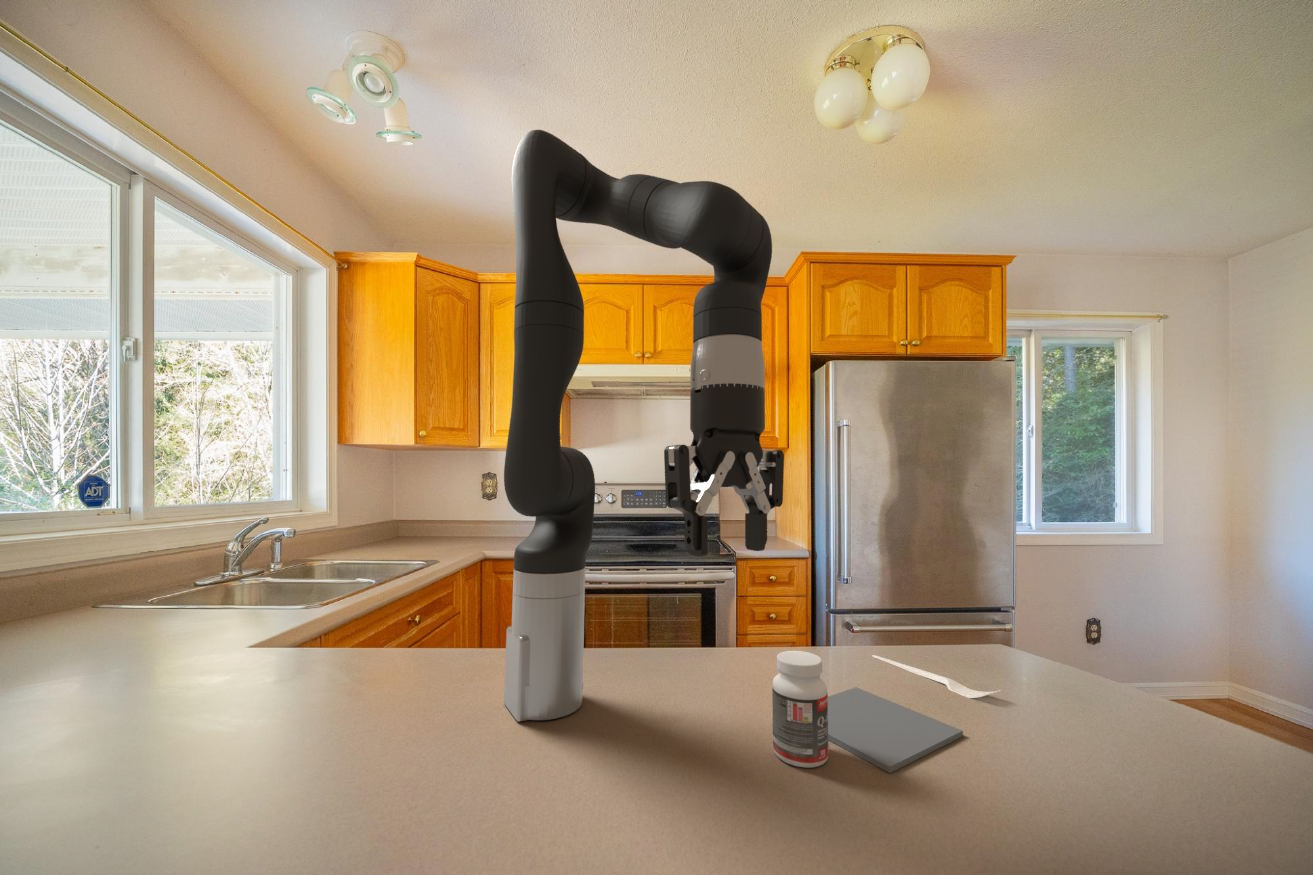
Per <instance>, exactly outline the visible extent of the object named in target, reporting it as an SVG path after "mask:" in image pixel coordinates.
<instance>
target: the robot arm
mask: <svg viewBox="0 0 1313 875" xmlns="http://www.w3.org/2000/svg"><path fill="white" fill-rule="evenodd" d="M517 145H518V146H517V148H516V149H515V152H514V157H513V161H512V165H511V166H512V168H511V197H512V199H511V200H512V209H513V221H514V235H515V298H514V311H513V312H514V315H513V316H514V318H513V319H514V321H513V322H514V323H513V325H514V326H513V341H514V347H513V348H514V357H513V358H514V360H513V374H512V376H513V377H512V378H513V379H512V396H511V397H512V398H511V399H512V400H511V410H510V419H509V428H508V435H507V442H506V448H505V449H506V450H505V458H504V459H505V460H504V468H503V483H504V484H503V485H504V490H505V491H504V492H505V494H506V498H507V501H508V503H509V505H510V506H511V507H512V509H513V510H514V511H516V512H517V513H519V514H520V515H521V516H524V517H531V518H533V517H535V522H534V526H533V528H532V530H531V532H530V533H529V534H528V536H527V537H526V538H525V539H524V540H522V541H521V542H520V543H519V544H518V545H517V546H516V547H515V550H514V555H513V575H512V576H513V581H512V582H513V583H512V602H511V603H512V606H511V607H512V608H511V625H510V626H507V628H506V635H505V636H506V639H505V665H504V666H505V667H504V689H503V690H504V692H503V703H504V705H505V706H506V708H507V710H508V711H509V712H510V714H511V715H512V717H514V719H515V720H516V722H523V721H549V720H556V719H558V718H559V719H560V718H563V717H566V716H568V715H571V714H574V712H576V711H577V710H579V709H580V708H581V706H582V705H583V697H584V696H583V695H584V694H583V693H584V652H585V651H584V643H585V642H584V641H585V639H584V638H585V601H586V600H585V597H586V596H585V595H586V590H585V589H586V562H587V561H586V560H587V559H586V558H587V554H588V551H589V550H590V546H591V543H592V540H593V531H594V530H593V529H594V517H595V502H596V501H595V500H596V499H595V497H596V479H595V473H594V468H593V465H592V463H591V461H590V459H589V457H587V455H586V454H584V452H582V451H581V450H578V449H576V448H572V447H568V446H561V416H562V414H561V413H562V406H563V401H564V397H565V394H566V392H567V389H568V386H569V385H570V383H571V381H572V379H573V376H574V375H575V373H576V371H577V368H578V366H579V364H580V361H581V357H582V355H583V350H584V345H585V344H584V343H585V303H584V299H583V295H582V294H583V293H582V292H581V291H582V290H581V288H580V284H579V282H578V280H577V277H576V275H575V272H574V270H573V268H572V266H571V263H570V261H569V259H568V257H567V255H566V252H565V248H564V247H563V244H562V241H561V238H560V235H559V230H558V223H557V222H558V221H557V219H558V220H561V221H563V222H564V221H565V222H569V223H572V222H573V223H579V224H580V223H581V224H593V225H601V226H606V227H611V228H613V229H616V230H617V231H620V232H622V233H625V234H626V235H630V236H632V237H634V238H637V239H639V240H642V241H644V242H648V243H650V244H653V245H656V246H659V247H662V248H666V249H672V250H673V249H674V250H675V249H683V250H685V251H687V252H689V253H690V254H691V253H692V254H693V255H695V256H697V257H699V258H700V259H701V260H703V261H704V262H706V263H707V264H709V265H711V266H712V267H713V274H714V277H713V282H711V283H708V284H706V285H705V286H702V288H701V289H699V290H698V292H697V293H696V295H695V297H694V302H693V314H692V316H693V317H692V320H693V323H692V324H693V326H692V328H693V330H692V332H693V333H692V340H693V341H692V343H693V345H692V353H691V354H692V355H691V361H690V380H689V381H690V388H689V389H690V391H689V392H690V393H689V394H690V396H689V398H690V399H689V400H690V401H689V402H690V403H689V406H690V407H689V411H690V412H689V414H690V417H689V423H690V424H689V429H690V432H692V434H693V436H692V441H691V443H690V445H686V444H673V445H667V446H665V448H664V450H663V458H664V487H665V488H664V489H665V504H666V506H667V507H668V508H669V509H674V510H677V511H679V512H681V513H682V514H683V517H684V547H685V549H686V550H687V551H688V554H689V555H691V556H695V557H706V556H707V555H708V541H709V540H708V538H709V537H708V536H709V535H708V522H709V521H708V520H709V519H708V518H709V517H708V516H705V514H706V512H707V511H708V508H709V506H710V505H711V501H712V500H713V498H714V497H715V496H717V495H718V494H719V493H720V489H721V488H733V490H734V492H735V494H737V495H738V496H739V497H740V498H741V501H742V503H743V505H744V507H745V509H746V512H745V515H744V526H745V529H744V533H745V534H744V537H745V538H744V539H745V540H744V541H745V542H744V544H745V546H744V547H745V549H746V550H748V551H749V550H750V551H754V552H761V551H764V550H766V549H765V548H766V544H767V541H768V530H767V529H768V513H770V511H771V510H772V509H774V508H776V507H777V508H780V507H781V506H782V505H783V502H784V476H785V475H784V474H785V473H784V472H785V454H784V451H783V450H781V449H778V450H777V449H776V450H773V449H772V450H766V449H763V447H762V446H761V441H760V440H761V439H760V437H761V435H762V433H764V431H765V429H766V391H765V388H766V387H765V385H766V384H765V383H766V380H765V376H766V374H765V373H766V372H765V370H766V369H765V367H766V366H765V358H764V353H763V352H764V351H763V322H762V321H763V319H762V318H763V317H762V316H763V315H762V300H763V297H764V294H765V290H766V287H767V283H768V277H769V272H770V267H771V262H772V255H773V239H772V233H771V229H770V226H769V223H768V222H767V220H766V219H765V217H764V216H763V215H762V214H761V213H760V212H759V210H757V209H756V208H755V207H754V206H753V205H752V204H750V203H749V201H747V200H746V199H745V198H744V196H742V195H741V194H740V193H739V192H738V191H737V190H735V189H733V188H732V187H730V186H727V185H724V184H722V183H719V182H716V181H709V180H697V181H685V182H678V181H675V180H671V179H668V178H667V179H666V178H664V177H663V178H662V177H659V176H655V175H650V174H643V173H635V174H628V175H626V176H623V177H621V178H618V177H614V176H612V175H610V174H608V173H606V172H605V171H604V170H601V169H600V168H598V167H596V166H595V165H594V164H592V163H591V162H590V161H589V159H587V157H585V156H584V155H583V154H582V153H581V152H579V151H577V150H576V149H575V148H573V147H572V146H571V145H569V144H567V143H566V142H565V141H564V140H562V139H560V138H559V137H557V136H556V135H554V134H552V133H550V132H548V131H545V130H543V129H532V130H530V131H528V132H527V133H526V134H525V135H523V137H522V138H521V139H520V141H519V143H518V144H517ZM693 463H694V466H695V468H696V469H695V471H694V473H693V475H692V477H691V468H690V467H691V465H692V464H693ZM758 468H759V469H758ZM770 489H771V494H770Z"/></svg>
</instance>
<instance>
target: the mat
mask: <svg viewBox="0 0 1313 875" xmlns="http://www.w3.org/2000/svg"><path fill="white" fill-rule="evenodd" d="M963 736H964V731H963V729H960V728H957V727H955V726H952V725H951V724H947V723H945V722H942V721H940V720H938V719H936V718H933V717H931V716H928V715H925V714H923V713H920V712H918V711H916V710H913V709H911V708H908V707H906V706H904V705H901V704H898V703H895V702H894V701H891V700H888V699H886V698H884V697H882V696H878V695H876V694H874V693H872V692H869V691H866V690H864V689H862V688H860V687H857V686H856V687H853V688H849V689H847V690H844V691H841V692H837V693H835V694H832V695H828V742H832V743H833V744H835V745H837V746H839V747H840V748H843V749H844V750H846V751H848V752H850V753H852V754H854V755H856V756H857V757H859V758H861V759H862V760H865V761H867V762H868V763H870V764H872V765H874V766H876V767H878V768H879V769H881V770H883V771H885V772H887V773H889V774H891V773H894V772H895V771H897V770H899V769H901V768H903V767H905V766H907V765H909V764H911V763H913V762H915V761H917V760H919V759H920V758H923V757H925V756H927V755H929V754H930V753H931V754H932V753H933V752H934V751H937V750H938V749H941V748H942V747H944V746H947V745H949V744H951V743H952V742H955V741H956V740H959V739H960V738H963Z"/></svg>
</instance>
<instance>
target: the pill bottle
mask: <svg viewBox="0 0 1313 875" xmlns="http://www.w3.org/2000/svg"><path fill="white" fill-rule="evenodd" d="M776 668H777V669H778V674H776V675H775V676H774V678H773V679H772V685H771V686H772V688H771V689H772V692H771V693H772V749H773V752H774V753H775V755H776V756H777V758H778V759H780V760H781V761H783V762H784V763H786V764H788V765H791V766H793V767H797V768H804V769H805V768H807V769H809V768H810V769H811V768H817V767H821V766H822V765H824V764H825V763H826V762H827V760H828V759H829V754H830V753H829V749H830V747H829V746H830V745H829V740H828V696H829V695H828V689H827V684H826V683H825V681H824V680H823V679H822V678H821V677H820V675H821V674H822V673H823V661H822V657H820V656H819V655H817V654H814V653H812V652H808V651H803V650H787V651H786V650H785V651H781V652H780V653H778V654H777V655H776Z"/></svg>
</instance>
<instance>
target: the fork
mask: <svg viewBox="0 0 1313 875" xmlns="http://www.w3.org/2000/svg"><path fill="white" fill-rule="evenodd" d="M871 657H873V658H876V659H878V660H881V661H882V662H885V663H887V664H890V665H892V666H896V667H898V668H901V669H903V670H906V671H907V672H910V673H913V674H915V675H918V676H920V677H923V678H925V679H929V680H933V681H934V682H938V683H941V684H944V685H945V686H947V687H946V688H947V689H948V690H949V691H951V692H953V693H956V694H958V695H959V696H963V697H966V698H968V699H975V698H977V699H978V698H981V697H985V696H989V695H992V694H995V693H998V692H1001V691H1002V689H998V690H994V691H980V690H975V689H971V688H968V687H966V686H965V685H963V684H961V683H959V682H958V681H955V680H953V679H951V678H948V677H945V676H943V675H942V676H941V675H939V674H936V673H933V672H929V671H926V670H924V669H920V668H918V667H914V666H910V665H908V664H905V663H903V662H898V661H894V660H893V659H889V658H885V657H883V656H879V655H875V654H873V655H871Z"/></svg>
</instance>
